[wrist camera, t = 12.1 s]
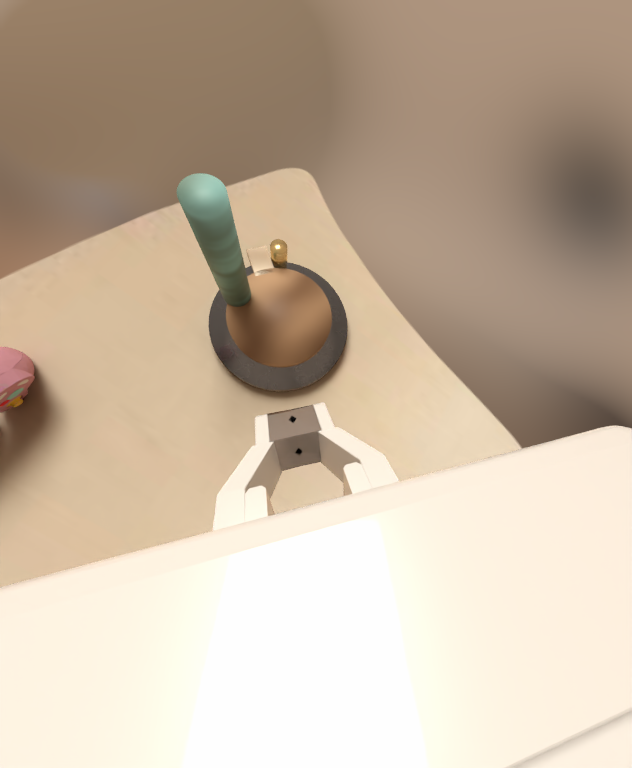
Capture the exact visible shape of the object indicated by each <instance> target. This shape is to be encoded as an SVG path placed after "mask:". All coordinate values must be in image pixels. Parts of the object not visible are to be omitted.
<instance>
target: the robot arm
mask: <svg viewBox="0 0 632 768" xmlns="http://www.w3.org/2000/svg"><path fill="white" fill-rule="evenodd" d="M255 444H256V445H255V446H252V447H251V448H250V450H249V451H248V452H247V454H246V455H245V457H244V458H243V459H242V461H241V462H240V464H239V465H238V466H237V468H236V469H235V471H234V472H233V473H232V475H231V476H230V478H229V479H228V480H227V482H226V483H225V485H224V486H223V487H222V489H221V490H220V492H219V493H218V495H217V500H216V508H215V516H214V524H213V531H210V532H206V533H202V534H198V535H195V536H191V537H187V538H183V539H180V540H176V541H172V542H168V543H164V544H161V545H157V546H153V547H149V548H146V549H142V550H138V551H134V552H131V553H127V554H123V555H119V556H115V557H112V558H108V559H104V560H100V561H97V562H93V563H89V564H85V565H81V566H78V567H74V568H70V569H66V570H62V571H59V572H55V573H51V574H47V575H44V576H40V577H36V578H32V579H28V580H25V581H21V582H17V583H13V584H10V585H6V586H2V587H0V768H632V429H631V428H627V427H622V426H608V427H603V428H598V429H595V430H591V431H588V432H583V433H580V434H576V435H573V436H568V437H565V438H561V439H557V440H553V441H550V442H546V443H542V444H538V445H535V446H531V447H527V448H523V449H519V450H516V451H512V452H508V453H504V454H501V455H497V456H493V457H489V458H485V459H482V460H478V461H474V462H470V463H467V464H463V465H459V466H455V467H451V468H448V469H444V470H440V471H436V472H433V473H429V474H425V475H421V476H417V477H414V478H410V479H406V480H402V481H399V480H398V478H397V477H396V475H395V473H394V471H393V470H392V468H391V466H390V464H389V463H388V461H387V459H386V457H385V455H384V454H382V453H381V452H379V451H377V450H376V449H374V448H372V447H371V446H369V445H367V444H366V443H364V442H362V441H361V440H359V439H357V438H356V437H354V436H352V435H351V434H349V433H348V432H346V431H344V430H343V429H341V428H339V427H336V428H335V426H334V424H333V422H332V419H331V417H330V414H329V412H328V409H327V407H326V405H325V403H324V402H323V403H318V404H314V405H310V406H306V407H301V408H296V409H291V410H286V411H281V412H275V413H270V414H265V415H260V416H256V417H255ZM317 462H321V463H322V464H323V465H324V466H326V467H327V468H328V469H329V470H330V471H331V472H332V473H333V474H334V475H335V476H337V477H338V478H339V479H340V480H341V481H342V482H343V483H344V496H342V497H339V498H335V499H331V500H327V501H323V502H320V503H316V504H312V505H308V506H304V507H301V508H297V509H293V510H289V511H285V512H282V513H278V514H275V513H274V511H273V508H272V505H271V502H270V498H271V496H272V494H273V491H274V489H275V487H276V484H277V482H278V480H279V478H280V475H281V473H282V471H284V470H288V469H291V468H295V467H299V466H303V465H308V464H312V463H317Z"/></svg>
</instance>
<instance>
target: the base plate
mask: <svg viewBox="0 0 632 768" xmlns="http://www.w3.org/2000/svg"><path fill="white" fill-rule="evenodd" d="M287 269H290V270H294V271H297V272H299V273H302V274H304V275H306V276H307V277H309V278H310V279H312V280H313V281H314V282H315V283H316V284H317V285H318V286H319V287H320V288H321V289H322V290H323V292H324V294H325V295H326V297H327V299H328V301H329V304H330V307H331V313H332V324H331V329H330V333H329V335H328V338H327V340H326V342H325V343H324V345H323V347H322V348H321V349H320V351H319V352H318V353H317V354H316V355H315V356H313V357H312V358H311V359H309V360H307V361H306V362H304V363H301V364H299V365H295V366H292V367H270V366H266V365H263V364H260V363H258V362H256V361H254V360H252V359H250V358H249V357H248V356H246V355H245V354H244V353H243V352H242V351H241V350H240V349H239V348H238V346H237V345H236V344H235V342H234V340H233V339H232V337H231V335H230V332H229V330H228V326H227V322H226V308H227V303H226V302H225V300H224V298H223V296H222V294H221V292H220V290H219V291H218V293H217V295H216V297H215V299H214V301H213V303H212V306H211V310H210V315H209V333H210V338H211V341H212V344H213V347H214V349H215V352H216V353H217V355H218V357H219V358H220V360H221V361H222V362H223V364H224V365H225V366H226V367H227V368H228V369H229V370H230V371H231V372H232V373H233V374H234V375H235V376H236V377H238V378H239V379H241V380H242V381H244V382H246V383H247V384H249V385H251V386H254V387H257V388H260V389H264V390H268V391H277V392H278V391H292V390H297V389H300V388H304V387H306V386H309V385H311V384H313V383H315V382H316V381H318V380H319V379H321V378H322V377H323V376H324V375H326V374H327V373H328V372H329V371H330V369H331V368H332V367H333V366H334V364H335V363H336V362H337V360H338V359H339V357H340V355H341V353H342V351H343V348H344V346H345V342H346V337H347V318H346V313H345V310H344V307H343V304H342V302H341V300H340V298H339V296H338V295H337V293H336V292H335V290H334V289H333V288H332V287H331V286H330V284H329V283H328V282H327V281H325V280H324V279H323V278H322V277H321V276H319V275H318V274H316V273H315V272H313V271H311V270H309V269H307V268H305V267H302V266H300V265H296V264H293V263H287ZM245 270H246V274H247V276H249V275H251V274H253V273H254V272H253V270H252V267H251V266H250V267H247V268H245Z"/></svg>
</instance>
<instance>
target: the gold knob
mask: <svg viewBox="0 0 632 768" xmlns="http://www.w3.org/2000/svg"><path fill="white" fill-rule="evenodd" d="M270 250H271V261H272V263H273V266H274V268H285V269H287V244H286V243H285V242H284V241H283V240H279V239H277V240H274V241H272V242H271V245H270Z"/></svg>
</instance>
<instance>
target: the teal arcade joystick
mask: <svg viewBox="0 0 632 768" xmlns="http://www.w3.org/2000/svg"><path fill="white" fill-rule="evenodd" d="M177 196H178V199H179V202H180V204H181V206H182V208H183V210H184V213H185V215H186V217H187V219H188V221H189V224H190V226H191V228H192V230H193V232H194V235H195V237H196V239H197V241H198V243H199V246H200V248H201V250H202V252H203V254H204V256H205V259H206V261H207V263H208V265H209V267H210V270H211V272H212V274H213V276H214V278H215V281H216V283H217V285H218V287H219V289H220V292H221V294H222V296H223V298H224V300H225V302H226V303H227V308H226V322H227V326H228V330H229V332H230V335H231V337H232V339H233V340H234V342H235V344H236V345H237V346H238V348H239V349H240V350H241V351H242V352H243V353H244V354H245V355H246V356H248V357H249V358H250V359H252V360H254V361H256V362H258V363H260V364H263V365H266V366H270V367H292V366H295V365H299V364H301V363H304V362H306V361H307V360H309V359H311V358H312V357H313V356H315V355H316V354H317V353H318V352H319V351H320V349H321V348H322V347H323V345H324V343H325V342H326V340H327V338H328V335H329V333H330V329H331V324H332V313H331V307H330V304H329V301H328V299H327V297H326V295H325V294H324V292H323V290H322V289H321V288H320V287H319V286H318V285H317V284H316V283H315V282H314V281H313V280H312V279H310V278H309V277H307V276H306V275H304V274H302V273H299V272H297V271H294V270H290V269H285V268H274V266H273V263H272V261H271V258H270V255H269V253H268V250H267V247H266V246H261V247H257V248H252V249H247V250H246V251H247V255H248V258H249V261H250V264H251V267H252V270H253V272H254V273H253V274H251V275H249V276H247V274H246V270H245V265H244V261H243V257H242V253H241V249H240V244H239V240H238V236H237V232H236V228H235V223H234V219H233V215H232V211H231V207H230V202H229V198H228V194H227V190H226V188H225V186H224V184H223V183H222V182H221V181H220V180H219V179H217V178H216V177H214V176H211V175H208V174H202V173H200V174H192V175H190V176H188V177H186V178H184V179H183V180H182V181H181V182H180V184H179V185H178V188H177Z"/></svg>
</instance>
